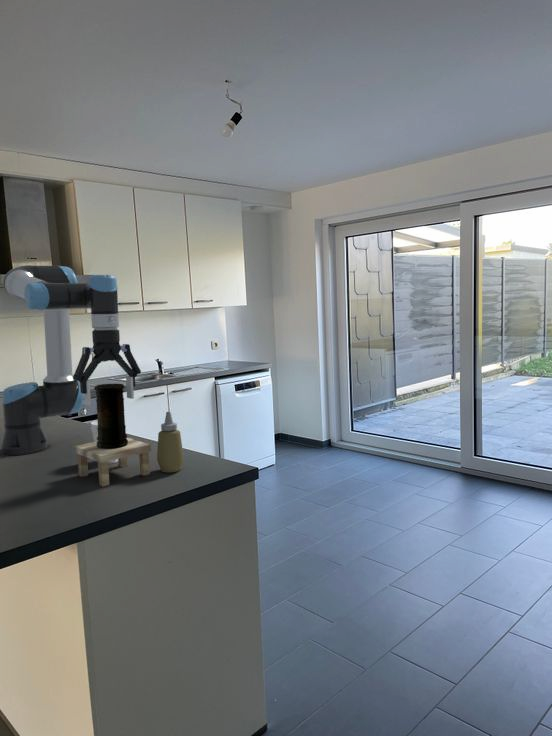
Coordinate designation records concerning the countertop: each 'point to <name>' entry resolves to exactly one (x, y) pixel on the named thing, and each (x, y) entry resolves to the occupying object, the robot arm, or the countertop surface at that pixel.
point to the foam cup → (95, 434)
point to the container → (110, 416)
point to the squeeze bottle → (169, 446)
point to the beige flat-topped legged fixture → (112, 458)
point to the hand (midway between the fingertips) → (109, 401)
